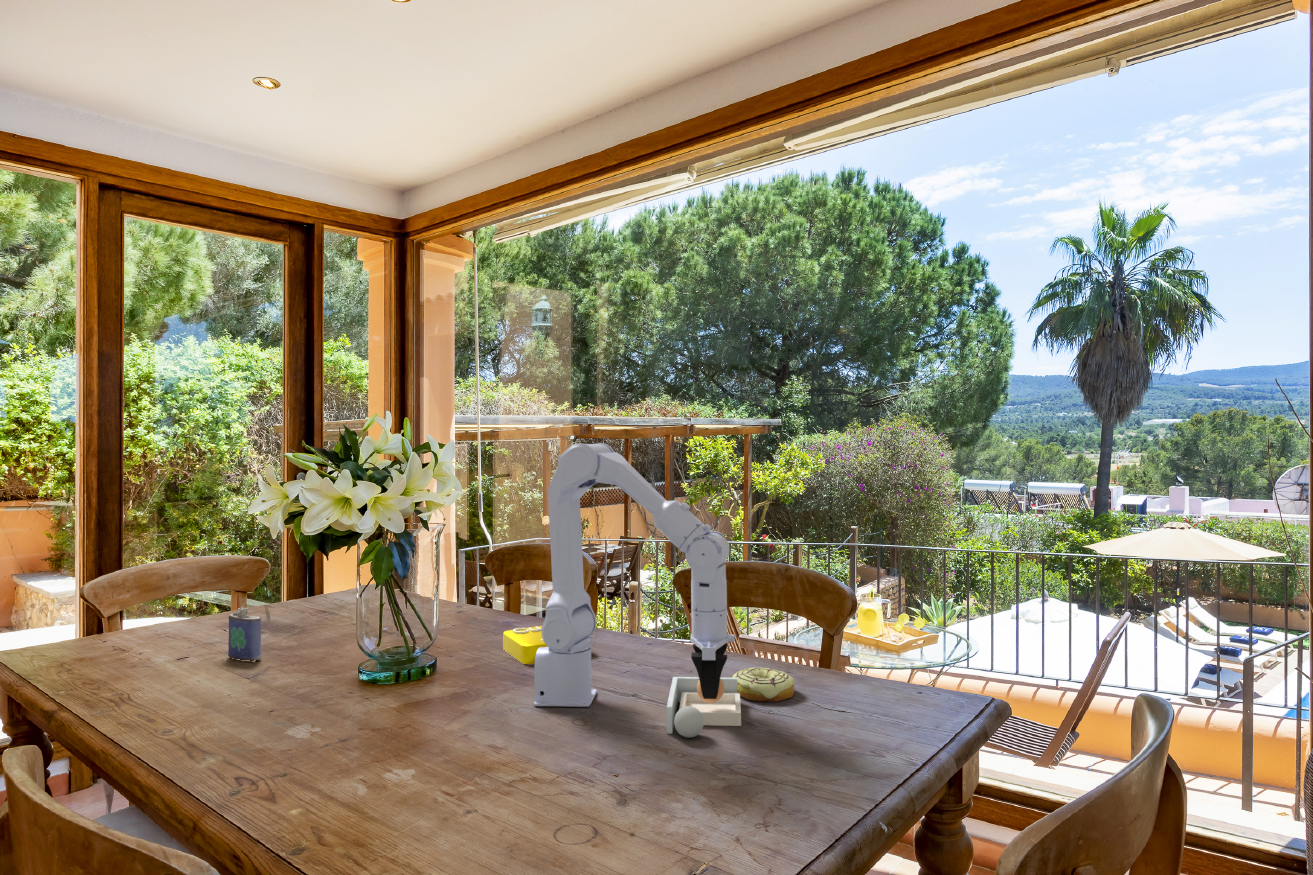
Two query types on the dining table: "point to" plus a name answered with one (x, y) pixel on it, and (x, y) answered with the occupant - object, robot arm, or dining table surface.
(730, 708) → the ceramic dish
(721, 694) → the terracotta ball
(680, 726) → the grey ball
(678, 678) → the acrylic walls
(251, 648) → the flask
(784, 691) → the decorated donut
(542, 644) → the element tile
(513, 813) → the dining table surface
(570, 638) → the robot arm
